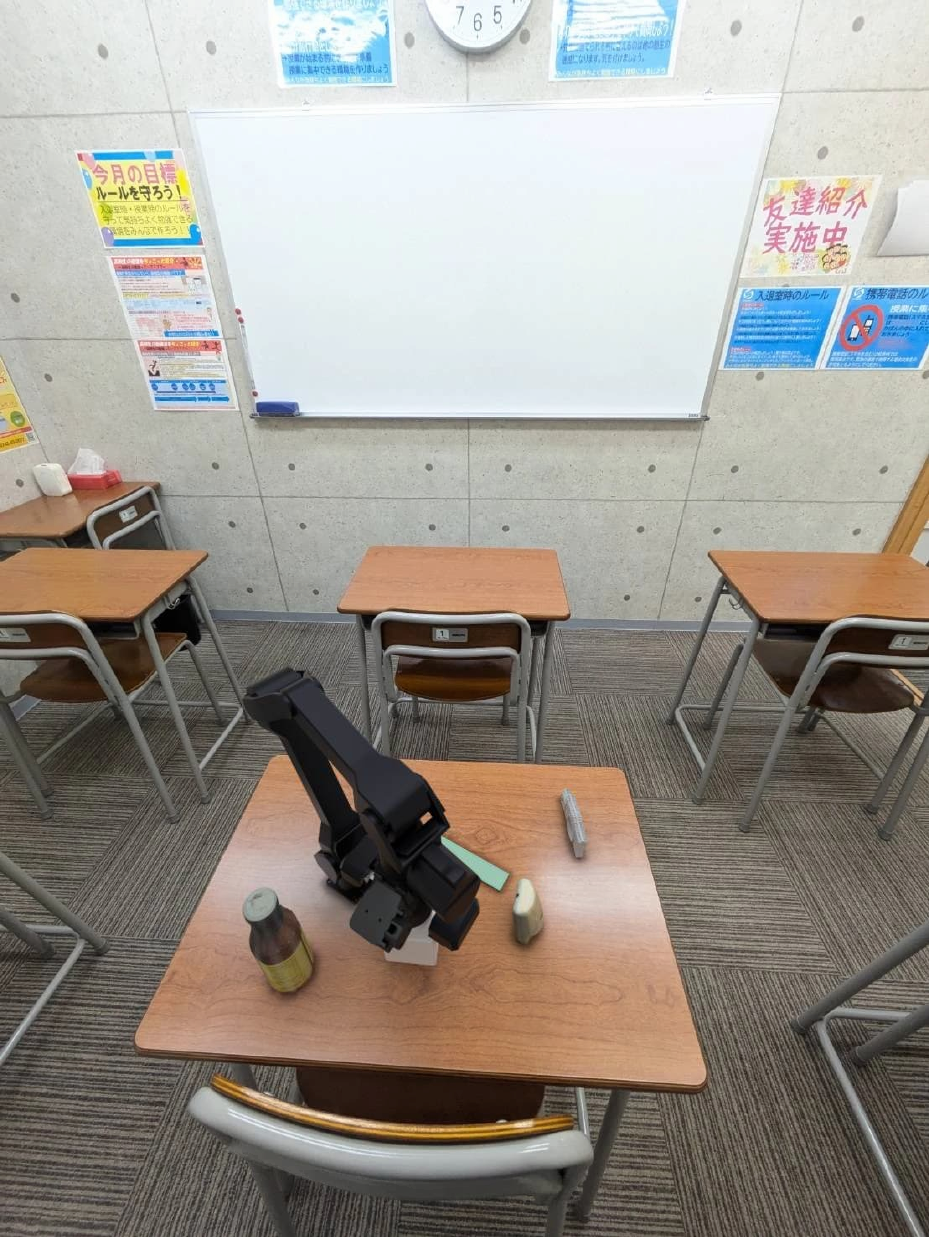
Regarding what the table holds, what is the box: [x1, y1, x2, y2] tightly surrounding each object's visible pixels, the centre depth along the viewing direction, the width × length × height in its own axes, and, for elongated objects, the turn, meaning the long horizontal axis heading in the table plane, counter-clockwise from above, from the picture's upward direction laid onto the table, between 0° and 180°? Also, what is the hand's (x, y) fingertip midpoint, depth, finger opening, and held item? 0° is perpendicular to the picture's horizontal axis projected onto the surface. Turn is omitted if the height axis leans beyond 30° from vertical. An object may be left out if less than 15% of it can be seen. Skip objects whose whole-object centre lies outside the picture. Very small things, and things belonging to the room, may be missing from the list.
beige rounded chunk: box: [512, 877, 545, 945], centre depth 76 cm, size 6×5×8 cm
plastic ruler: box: [441, 835, 510, 892], centre depth 87 cm, size 15×3×1 cm, turn 58°
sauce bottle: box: [241, 886, 315, 995], centre depth 68 cm, size 6×6×20 cm
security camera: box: [383, 902, 440, 967], centre depth 71 cm, size 7×7×12 cm
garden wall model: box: [560, 788, 589, 859], centre depth 90 cm, size 12×2×6 cm, turn 3°
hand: (412, 920), depth 72 cm, fingers closed on security camera, 9 cm apart
